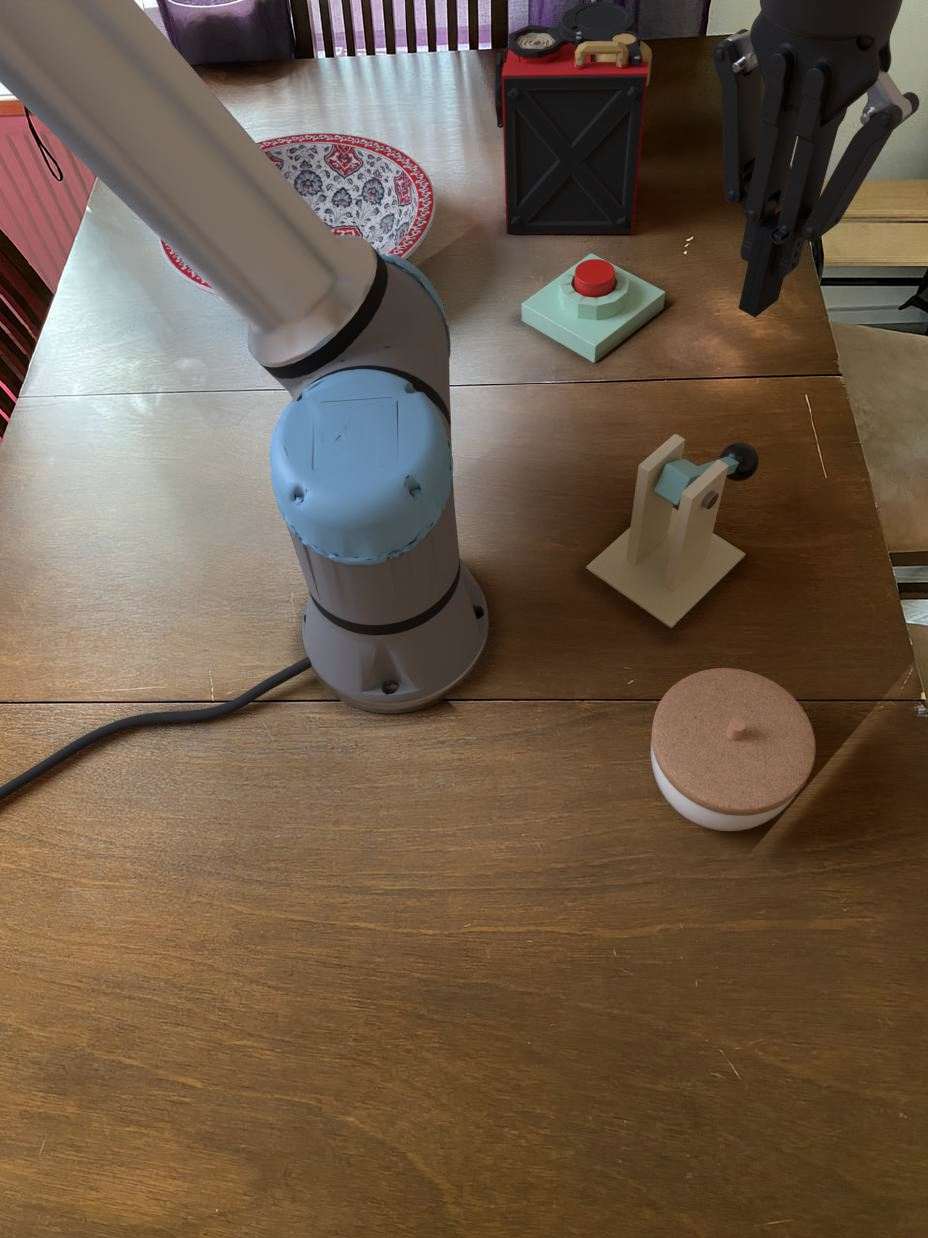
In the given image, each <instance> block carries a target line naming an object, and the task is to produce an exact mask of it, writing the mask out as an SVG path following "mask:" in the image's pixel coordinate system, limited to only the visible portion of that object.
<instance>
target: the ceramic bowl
mask: <svg viewBox="0 0 928 1238" xmlns="http://www.w3.org/2000/svg"><path fill="white" fill-rule="evenodd" d="M256 144H257V145H258V146H259V147H260V148H261V149H262V151H263V152H264V153H265V154H266V155H267V156H268V158H269V159H270V160H271V161H272V162H273V163H274V165H275V166H276V167H277V168H278V169H279V170H280V172H281V173H282V174H283V175H284V176H285V178H286V179H287V180H288V181H289V182H290V183H291V185H292V186H293V187H294V188H295V189H296V190H297V192H298V193H299V194H300V195H301V196H302V197H303V199H304V200H305V201H306V202H307V203H308V204H309V206H310V207H311V208H312V209H313V210H314V212H315V213H316V214H317V215H318V216H319V217H320V219H321V220H322V221H323V222H324V223H325V224H326V226H327V227H328V228H329V229H330V230H331V231H332V233H333V234H334V235H335V236H336V235H355V236H360V237H362V238H364V239H365V240H367V241H368V242H369V243H370V244H371V245H372V246H373V248H374V249H376V250H379V252H380V254H383V255H386V256H390V255H391V254H395V255H397V256H399V257H401V258H403V259H405V260H407V259H408V258H409V257H410V256H412V254H414V252H416V250H418V248H419V247H420V246H421V245H422V243H423V242H424V241H425V239H426V237H427V236H428V235H429V232H430V230H431V228H432V225H433V223H434V220H435V216H436V211H437V195H436V191H435V188H434V185H433V182H432V180H431V178H430V177H429V174H427V171H426V170H425V169H424V168H423V167H422V166H421V165H420V163H418V162H417V161H416V160H415V159H414V158H412V157H411V156H410V155H408V154H406V153H405V152H404V151H402V150H400V149H399V148H396V147H394V146H392V145H390V144H387V143H384V142H381V141H378V140H375V139H372V138H368V137H364V136H358V135H352V134H344V133H331V132H330V133H329V132H328V133H327V132H322V133H321V132H315V133H314V132H313V133H300V134H291V135H285V136H279V137H274V138H269V139H265V140H261V141H257V142H256ZM157 237H158V243H159V248H160V250H161V253H162V256H163V257H164V259H165V261H166V262H167V264H168V265H169V266H170V268H171V269H172V270H173V272H175V274H177V275H178V276H179V277H180V278H181V279H183V280H184V281H185V282H186V283H188V284H189V285H191V286H193V287H195V288H197V289H198V290H201V291H203V292H205V293H208V294H210V295H213V296H216V297H219V298H221V297H220V296H219V295H218V294H217V293H216V292H215V291H214V290H213V289H212V288H211V287H210V286H209V285H208V284H207V283H206V282H205V281H204V280H203V279H202V278H201V277H200V276H199V275H198V274H197V273H196V272H195V271H194V270H193V269H192V268H191V267H190V266H189V265H187V264H186V263H185V262H184V261H183V260H182V259H181V258H180V257H179V256H178V255H177V254H176V253H175V252H174V251H173V250H172V249H171V248H170V247H169V246H168V245H167V244H166V243H165V242H164V241H163V240H162V239H161V238H160V237H159V236H158V235H157Z"/></svg>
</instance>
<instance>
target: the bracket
mask: <svg viewBox="0 0 928 1238" xmlns="http://www.w3.org/2000/svg"><path fill="white" fill-rule="evenodd" d="M685 443H686V439H685V438H684V437H683V436H681V435H679V434H677V433H674V434H673V435H671V437H669V438H668V439H667V440H666V441H665V442H663V443H662V444H661V445H660V446H659V447H658V448H657V449H655V450H654V451H653V452H652V453H651V454H649V455H648V456H647V457H646V458H645V459H643V461H641V463H639V464H638V468H637V475H636V483H635V491H634V496H633V503H632V504H633V505H632V513H631V519H630V520H631V521H630V526H629V527H628V528H627V529H626V530H625V531H624V532H622V533H621V535H619V536H618V537H617V538H616V539H615V540H614V541H613V542H612V543H610V545H608V546H607V547H606V548H605V549H604V550H603V551H601V552H600V553H599V555H597V556H596V557H595V558H594V559H593V560H592V561H590V563H588V565H586V566H585V569H587V570H588V571H589V572H590V573H592V574H593V575H595V576H596V577H597V578H599V579H601V580H602V581H603V582H605V583H606V584H608V585H609V586H610V587H612V588H613V589H615V590H616V591H617V592H619V593H620V594H621V595H623V596H625V597H626V598H627V599H629V600H630V601H631V602H633V603H634V604H636V605H637V606H639V607H640V608H641V609H643V610H644V611H645V612H647V613H649V614H650V615H651V616H653V617H654V618H655V619H657V620H658V621H660V622H661V623H662V624H664V625H665V626H667V627H669V628H670V629H672V628H673V627H674V626H675V625H677V624H678V622H679V621H680V620H681V619H682V618H684V616H686V614H688V612H690V611H691V610H692V609H693V608H694V607H695V606H696V605H697V604H698V603H699V602H700V601H701V600H702V599H703V598H704V597H705V596H706V595H707V594H708V593H709V592H710V591H711V590H712V589H713V588H714V587H715V586H716V585H717V584H718V583H719V582H720V581H721V580H722V579H723V578H724V577H725V576H726V575H727V574H728V573H729V572H730V571H731V570H732V569H733V568H734V567H735V566H737V564H738V563H740V562H741V560H742V559H743V558H745V557H746V553H745V552H744V551H742V550H741V549H739V548H737V547H736V546H734V545H733V544H731V543H730V542H728V541H727V540H725V539H723V538H722V537H721V536H719V535H718V534H716V533H714V528H715V524H716V520H717V516H718V512H719V508H720V504H721V500H722V496H723V491H724V487H725V482H726V479H727V478H726V476H727V471H728V467H729V465H727V464H725V463H724V462H722V461H720V460H718V459H716V460H717V461H716V462H715V463H714V464H713V465H712V466H710V467H709V468H708V469H707V470H706V471H705V472H704V473H703V474H702V475H700V476H699V477H698V478H697V479H696V480H695V481H694V482H693V483H692V484H691V485H689V486H688V487H687V488H686V489H685V490H684V491H683V492H682V494H681V500H680V504H679V505H678V509H677V508H675V507H674V505H675V504H674V503H672V502H671V501H669V500H668V499H666V498H665V497H663V496H661V495H660V494H658V493H657V492H655V491H654V490H655V488H656V485H657V483H658V481H659V479H660V477H661V475H662V472H663V470H664V468H665V466H666V464H667V463H671V462H674V461H677V460H680V459H683V455H684V450H685V449H684V448H685Z"/></svg>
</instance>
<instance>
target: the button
mask: <svg viewBox="0 0 928 1238" xmlns="http://www.w3.org/2000/svg"><path fill="white" fill-rule="evenodd" d="M604 260H605V259H604ZM604 260H600V259H590V260H586V261H583V262H582V263H580V264H579V265H578V266H577V267H576V269H575V281H574V287H575V290H576V291H577V293H579V294H581V295H582V296H584V297H593V298H598V297H602V296H607V295H608V294H610V293H611V292H612V290H613V288H614V281H615V269H614V267H613V266H612V264H613V263H611V262H610V261H608V262H607V260H606V261H604ZM610 263H611V264H610Z"/></svg>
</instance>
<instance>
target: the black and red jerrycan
mask: <svg viewBox="0 0 928 1238" xmlns="http://www.w3.org/2000/svg"><path fill="white" fill-rule="evenodd" d="M639 36H640V35H639ZM639 36H638V35H637V34H636V33H635V32H634V31H622V30H597V29H575V30H574V32H573V33H572V35H571V38H567V37H563V36H560V34H559V31H558V29H557V28H556V27H552V26H544V25H539V24H538V25H536V24H529V25H526V26H524V27H522V28H520V29H518V30H515V31H513V32H511V33H508V41H507V46H506V50H505V61H504V58H503V53H502V52H497V53H496V58H495V65H494V66H495V70H494V71H495V78H494V82H493V89H494V91H493V92H494V106H495V114H496V124H497V125H496V126H497V128H499V129H502V137H503V164H504V165H503V168H504V170H503V171H504V200H505V203H504V204H505V229H506V230H505V232H506V234H572V235H573V234H574V235H575V234H579V235H580V234H586V235H587V234H589V235H590V234H593V235H594V234H597V235H599V234H600V235H602V234H603V235H605V234H607V235H609V234H610V235H611V234H614V235H617V234H622V235H624V234H625V235H627V234H629V235H630V234H631V235H633V234H634V227H635V215H636V207H637V206H636V205H637V194H638V182H639V173H640V164H641V163H640V161H641V150H642V140H643V129H644V117H645V107H646V97H647V96H646V95H647V87H648V86H649V84H650V77H651V69H652V68H651V67H652V58H653V52H652V49H651V47H649V45H647V43H645V42H644V41H642V37H639ZM593 54H594V62H593Z"/></svg>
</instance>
